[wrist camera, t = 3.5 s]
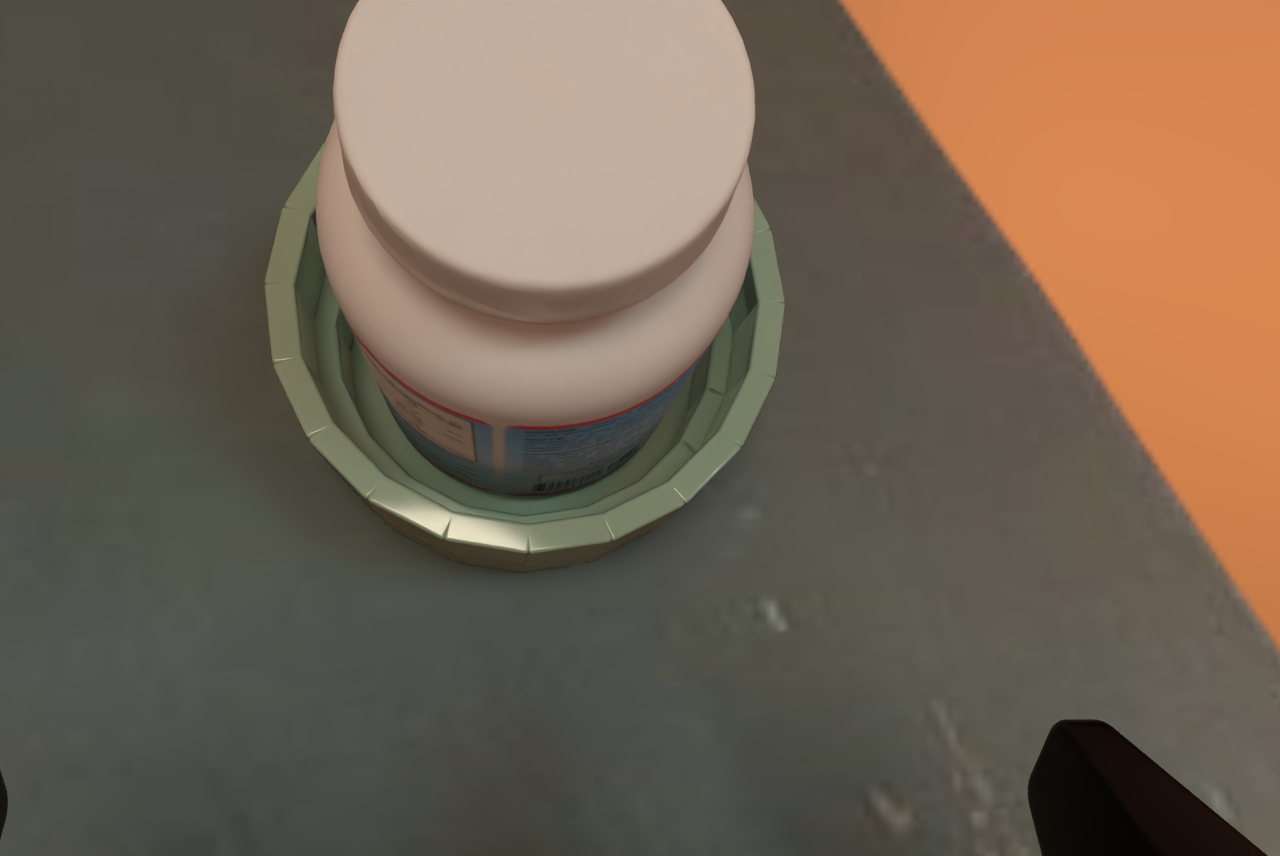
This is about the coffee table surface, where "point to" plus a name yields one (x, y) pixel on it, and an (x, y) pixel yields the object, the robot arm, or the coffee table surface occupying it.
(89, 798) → the coffee table surface
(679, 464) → the bowl
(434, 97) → the pill bottle
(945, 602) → the coffee table surface
